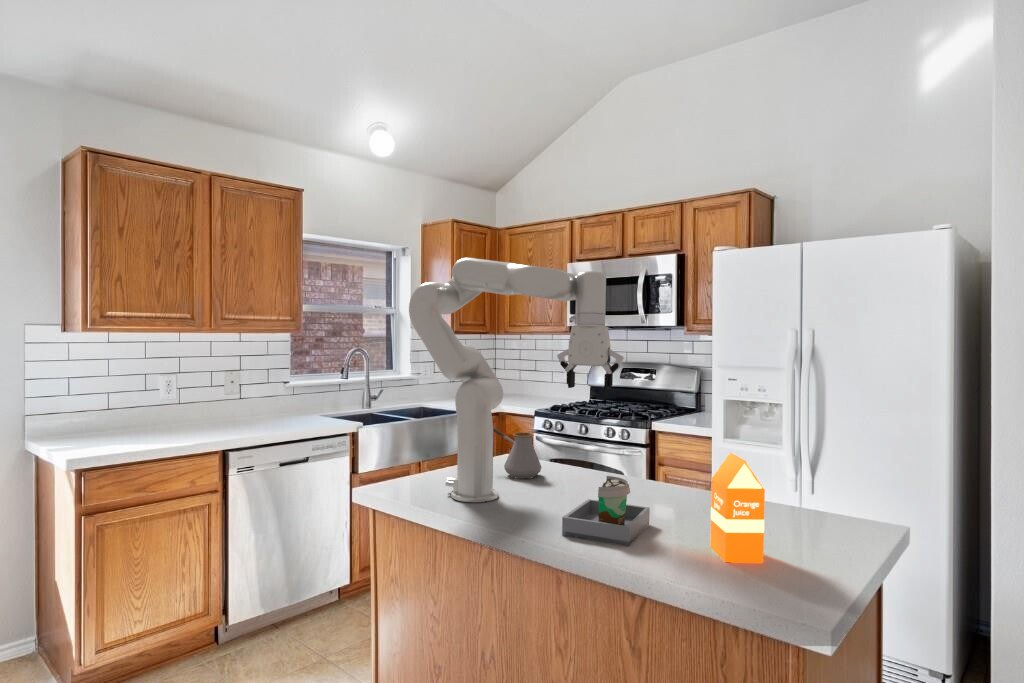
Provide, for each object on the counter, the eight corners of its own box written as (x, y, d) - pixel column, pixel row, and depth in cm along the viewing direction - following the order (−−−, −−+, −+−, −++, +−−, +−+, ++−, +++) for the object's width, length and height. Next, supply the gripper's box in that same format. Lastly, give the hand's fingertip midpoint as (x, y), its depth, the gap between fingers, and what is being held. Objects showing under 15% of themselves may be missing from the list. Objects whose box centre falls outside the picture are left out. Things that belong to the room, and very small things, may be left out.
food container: (625, 536, 136) (626, 489, 136) (597, 533, 138) (598, 487, 138) (632, 520, 148) (633, 477, 147) (606, 517, 150) (606, 475, 149)
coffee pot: (548, 475, 196) (549, 427, 196) (527, 482, 187) (528, 431, 187) (493, 466, 209) (493, 420, 208) (471, 472, 199) (471, 424, 199)
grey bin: (562, 535, 139) (562, 517, 139) (588, 515, 154) (588, 499, 154) (629, 546, 133) (629, 527, 132) (649, 524, 148) (649, 507, 148)
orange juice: (746, 547, 133) (748, 452, 133) (764, 563, 124) (766, 461, 124) (709, 547, 133) (711, 452, 132) (724, 563, 124) (726, 461, 124)
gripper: (552, 320, 161) (551, 387, 161) (619, 320, 153) (618, 391, 154) (563, 320, 168) (562, 385, 168) (627, 321, 160) (626, 389, 160)
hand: (589, 388), depth 161 cm, fingers open, 9 cm apart
